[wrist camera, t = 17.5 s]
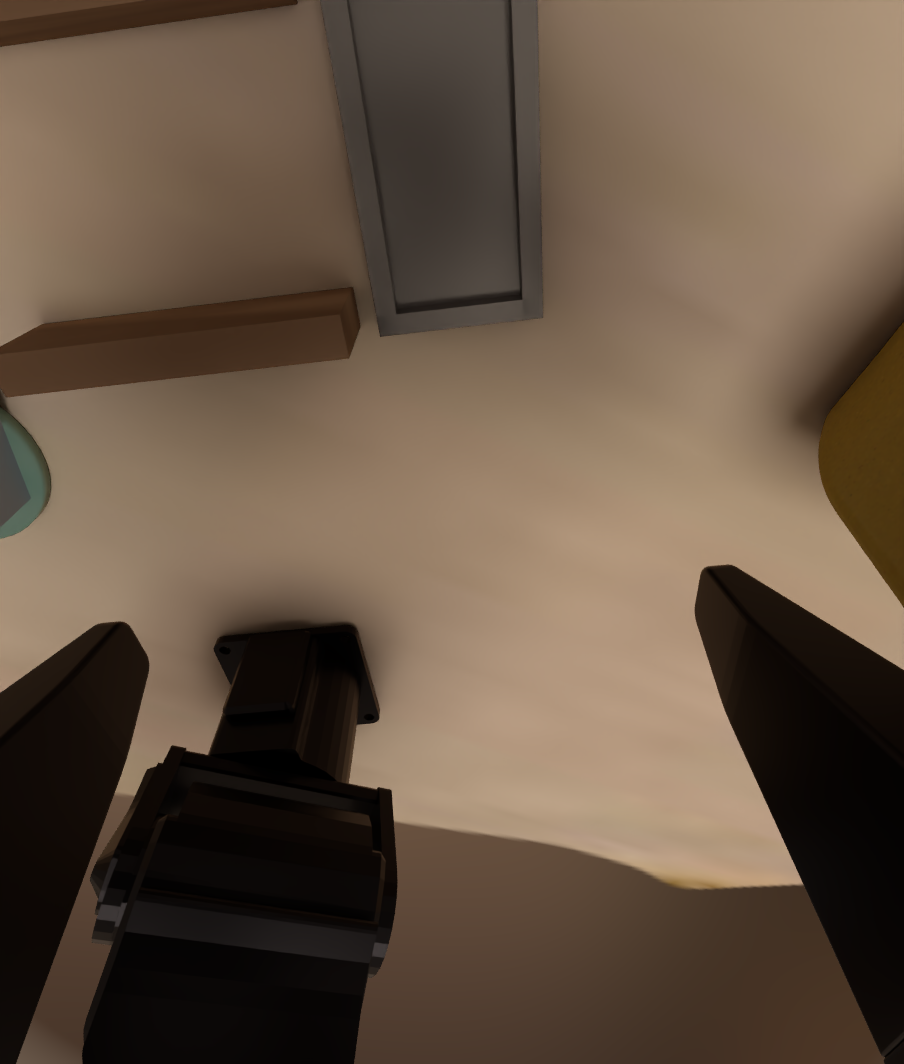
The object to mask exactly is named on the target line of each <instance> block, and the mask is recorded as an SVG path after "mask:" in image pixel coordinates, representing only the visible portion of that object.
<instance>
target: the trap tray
mask: <svg viewBox="0 0 904 1064" xmlns="http://www.w3.org/2000/svg"><path fill="white" fill-rule="evenodd" d="M320 2H321V7H322V13H323V19H324V24H325V30H326V35H327V41H328V47H329V52H330V58H331V63H332V69H333V75H334V80H335V86H336V91H337V97H338V103H339V108H340V114H341V120H342V125H343V131H344V136H345V142H346V148H347V153H348V159H349V164H350V170H351V176H352V181H353V187H354V193H355V198H356V204H357V209H358V215H359V221H360V226H361V232H362V237H363V243H364V249H365V254H366V260H367V265H368V271H369V277H370V282H371V288H372V294H373V299H374V305H375V310H376V316H377V322H378V327H379V333H380V337H382V336H391V335H400V334H408V333H417V332H426V331H434V330H443V329H452V328H460V327H469V326H478V325H486V324H495V323H504V322H512V321H521V320H530V319H538V318H543V280H542V225H541V170H540V115H539V60H538V5H537V0H320Z"/></svg>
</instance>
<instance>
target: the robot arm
mask: <svg viewBox="0 0 904 1064" xmlns="http://www.w3.org/2000/svg"><path fill="white" fill-rule="evenodd" d="M695 618H696V623H697V626H698V629H699V632H700V635H701V638H702V642H703V645H704V648H705V651H706V654H707V657H708V660H709V663H710V667H711V670H712V673H713V676H714V679H715V682H716V685H717V689H718V692H719V695H720V698H721V701H722V704H723V706H724V709H725V712H726V714H727V717H728V719H729V721H730V724H731V726H732V728H733V730H734V733H735V735H736V737H737V739H738V741H739V744H740V746H741V748H742V750H743V752H744V755H745V757H746V759H747V761H748V763H749V766H750V768H751V770H752V772H753V774H754V777H755V779H756V781H757V783H758V785H759V788H760V790H761V792H762V794H763V796H764V799H765V801H766V803H767V805H768V807H769V810H770V812H771V814H772V816H773V818H774V821H775V823H776V825H777V827H778V829H779V832H780V834H781V836H782V838H783V840H784V843H785V845H786V847H787V849H788V851H789V854H790V856H791V858H792V860H793V862H794V865H795V867H796V869H797V871H798V873H799V876H800V878H801V880H802V882H803V884H804V887H805V889H806V891H807V893H808V895H809V897H810V900H811V902H812V904H813V906H814V909H815V911H816V913H817V915H818V917H819V919H820V922H821V924H822V926H823V928H824V931H825V933H826V935H827V937H828V939H829V942H830V944H831V946H832V948H833V950H834V952H835V955H836V957H837V959H838V961H839V964H840V966H841V968H842V970H843V972H844V975H845V976H846V979H847V981H848V983H849V985H850V988H851V990H852V992H853V994H854V997H855V999H856V1001H857V1003H858V1005H859V1008H860V1010H861V1012H862V1014H863V1016H864V1018H865V1021H866V1023H867V1025H868V1027H869V1030H870V1032H871V1034H872V1036H873V1038H874V1041H875V1043H876V1045H877V1047H878V1049H879V1052H880V1053H881V1055H882V1056H883V1057H885V1058H884V1063H885V1064H904V670H903V669H901V668H899V667H898V666H896V665H895V664H893V663H891V662H890V661H888V660H886V659H885V658H883V657H882V656H880V655H878V654H877V653H875V652H873V651H872V650H870V649H869V648H867V647H865V646H864V645H862V644H860V643H859V642H857V641H856V640H854V639H852V638H851V637H849V636H847V635H846V634H844V633H843V632H841V631H839V630H838V629H836V628H834V627H833V626H831V625H830V624H828V623H826V622H825V621H823V620H821V619H820V618H818V617H817V616H815V615H813V614H812V613H810V612H808V611H807V610H805V609H804V608H802V607H800V606H799V605H797V604H795V603H794V602H792V601H791V600H789V599H787V598H786V597H784V596H782V595H781V594H779V593H778V592H776V591H774V590H773V589H771V588H769V587H768V586H766V585H765V584H763V583H761V582H760V581H758V580H756V579H755V578H753V577H752V576H750V575H748V574H747V573H745V572H743V571H742V570H740V569H739V568H737V567H735V566H733V565H718V566H708V567H705V568H704V569H703V570H702V572H701V575H700V580H699V586H698V591H697V597H696V602H695ZM344 635H345V636H349V637H344ZM226 647H228V648H226ZM214 652H215V654H216V656H217V658H218V660H219V662H220V664H221V666H222V668H223V670H224V672H225V674H226V676H227V678H228V680H229V682H230V685H231V688H230V690H229V693H228V696H227V699H226V701H225V704H224V707H223V714H222V717H221V720H220V723H219V725H218V728H217V731H216V734H215V737H214V739H213V742H212V745H211V748H210V751H209V753H208V755H205V754H200V753H195V752H190V751H186V748H183V747H178V746H173V745H172V746H171V748H170V750H169V752H168V754H167V756H166V758H165V760H164V762H163V763H158V764H157V766H156V767H153V768H150V769H147V771H146V773H145V775H144V777H143V780H142V782H141V784H140V786H139V789H138V791H137V793H136V795H135V798H134V800H133V802H132V804H131V806H130V808H129V810H128V812H127V814H126V815H125V817H124V819H123V820H122V822H121V823H120V825H119V827H118V828H117V830H116V831H115V833H114V835H113V836H112V838H111V839H110V841H109V843H108V844H107V846H106V847H105V849H104V850H103V852H102V854H101V855H100V857H99V858H98V860H97V862H96V864H95V866H94V869H93V871H92V874H91V877H90V882H91V884H92V886H93V888H94V891H95V893H96V895H97V897H98V902H97V906H96V910H95V914H96V915H98V916H97V919H96V923H95V927H94V931H93V935H92V943H98V944H106V945H112V947H111V950H110V953H109V956H108V958H107V961H106V964H105V967H104V970H103V973H102V976H101V978H100V981H99V984H98V987H97V990H96V993H95V996H94V998H93V1001H92V1004H91V1007H90V1010H89V1012H88V1015H87V1018H86V1022H85V1026H84V1046H83V1053H82V1060H83V1064H354V1059H355V1051H356V1044H357V1036H358V1028H359V1021H360V1014H361V1008H362V1003H363V998H364V993H365V988H366V983H367V978H368V977H369V978H372V977H373V976H375V975H376V974H377V972H378V970H379V969H380V967H381V964H382V962H383V960H384V957H385V953H386V951H387V947H388V944H389V940H390V936H391V931H392V926H393V920H394V915H395V907H396V899H397V863H396V848H395V834H394V820H393V805H392V791H391V790H390V789H385V788H380V787H378V788H377V789H373V788H368V787H363V786H358V785H353V784H349V778H350V770H351V763H352V755H353V748H354V740H355V733H356V725H358V724H370V723H375V722H377V721H378V720H379V714H380V709H379V705H378V702H377V698H376V695H375V691H374V688H373V684H372V681H371V677H370V673H369V670H368V666H367V663H366V659H365V656H364V652H363V649H362V645H361V641H360V638H359V634H358V631H357V630H356V629H355V628H354V627H352V626H349V625H341V626H330V627H319V628H308V629H298V630H287V631H276V632H265V633H254V634H243V635H232V636H223V637H220V638H218V639H217V642H216V644H215V646H214ZM148 673H149V660H148V656H147V654H146V652H145V651H144V649H143V647H142V646H141V644H140V642H139V640H138V639H137V637H136V635H135V634H134V632H133V630H132V629H131V627H130V626H129V625H128V624H127V623H125V622H120V621H119V622H109V623H101V624H97V625H95V626H93V627H92V628H91V629H89V630H88V631H86V632H85V633H84V634H82V635H81V636H79V637H78V638H77V639H75V640H74V641H72V642H71V643H70V644H68V645H67V646H65V647H64V648H63V649H61V650H60V651H58V652H57V653H56V654H54V655H53V656H51V657H50V658H49V659H47V660H46V661H44V662H43V663H42V664H40V665H39V666H37V667H36V668H35V669H33V670H32V671H30V672H29V673H28V674H26V675H25V676H23V677H22V678H21V679H19V680H18V681H16V682H15V683H14V684H12V685H11V686H9V687H8V688H7V689H5V690H4V691H2V692H1V693H0V1064H16V1062H17V1059H18V1056H19V1054H20V1051H21V1048H22V1045H23V1043H24V1040H25V1037H26V1034H27V1031H28V1029H29V1026H30V1023H31V1021H32V1018H33V1015H34V1012H35V1010H36V1007H37V1004H38V1001H39V998H40V996H41V993H42V990H43V988H44V985H45V982H46V980H47V977H48V974H49V971H50V969H51V965H52V963H53V960H54V957H55V955H56V952H57V949H58V947H59V944H60V941H61V938H62V936H63V933H64V930H65V927H66V925H67V922H68V919H69V916H70V914H71V911H72V908H73V906H74V903H75V900H76V897H77V895H78V892H79V889H80V886H81V884H82V881H83V878H84V875H85V873H86V870H87V867H88V864H89V862H90V859H91V856H92V854H93V851H94V848H95V845H96V842H97V840H98V837H99V834H100V831H101V829H102V826H103V823H104V820H105V818H106V815H107V812H108V810H109V807H110V804H111V801H112V799H113V796H114V793H115V790H116V788H117V785H118V782H119V780H120V777H121V774H122V771H123V768H124V765H125V762H126V759H127V755H128V752H129V749H130V745H131V741H132V737H133V733H134V729H135V725H136V721H137V717H138V713H139V709H140V705H141V701H142V697H143V693H144V689H145V685H146V681H147V677H148Z"/></svg>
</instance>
